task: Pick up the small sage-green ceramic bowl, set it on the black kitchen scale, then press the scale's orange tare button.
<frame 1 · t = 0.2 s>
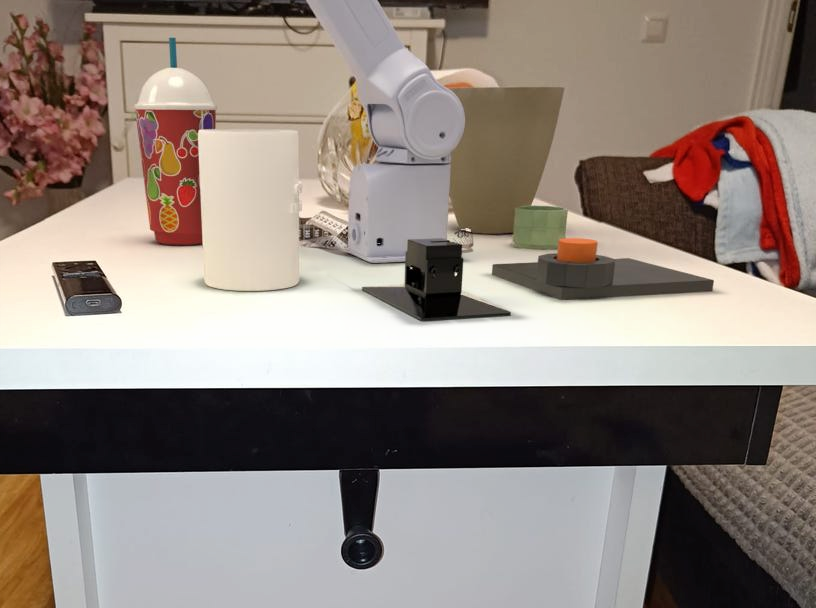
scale: (597, 283, 79), on the table
bowl: (538, 246, 99), on the table
smoothie: (182, 243, 101), on the table
mug: (249, 280, 80), on the table
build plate: (431, 305, 71), on the table
tare button: (576, 251, 74), point 3 cm above the table, slide at 0.1 cm
plant pot: (487, 232, 112), on the table
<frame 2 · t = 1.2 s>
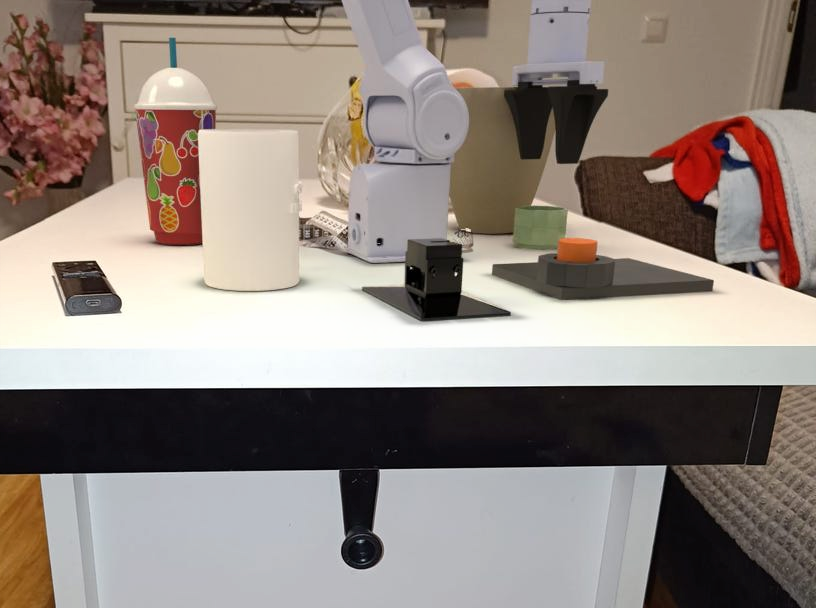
hand: (548, 161, 96), 9 cm above the table, tool pointing down, fingers open, 7 cm apart
nothing on the table moved.
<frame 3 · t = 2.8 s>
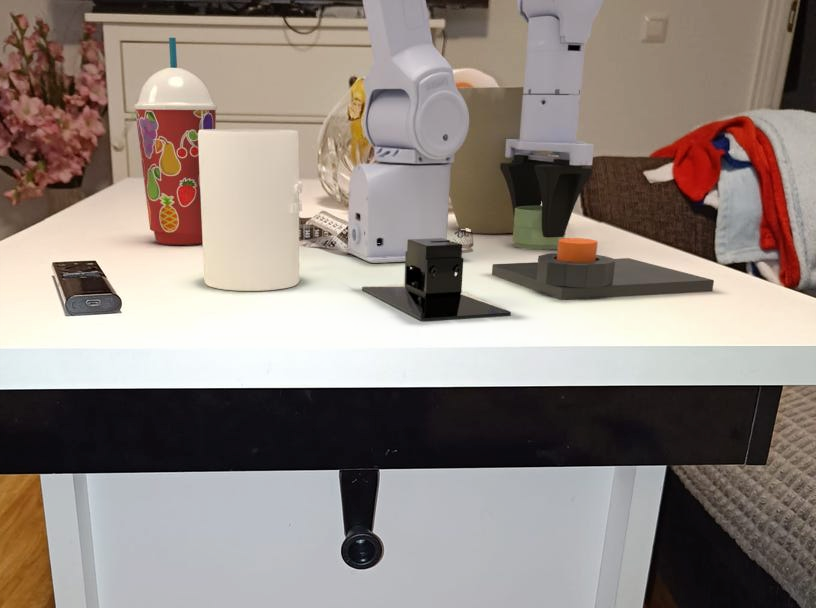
hand: (539, 233, 99), 1 cm above the table, tool pointing down, fingers closed on bowl, 5 cm apart
bowl: (537, 246, 99), on the table, touching gripper
everything else where it was.
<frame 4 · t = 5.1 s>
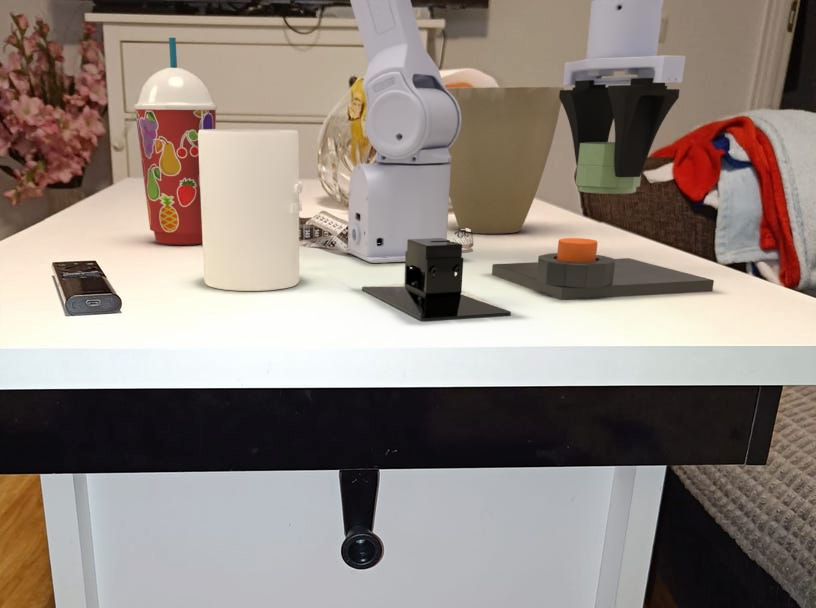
hand: (608, 174, 81), 8 cm above the table, tool pointing down, fingers closed on bowl, 5 cm apart
bowl: (606, 191, 82), point 7 cm above the table, touching gripper
everything else where it was.
when the fingers open (2 cm above the table, at t = 7.5 s): bowl stays where it is, resting on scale.
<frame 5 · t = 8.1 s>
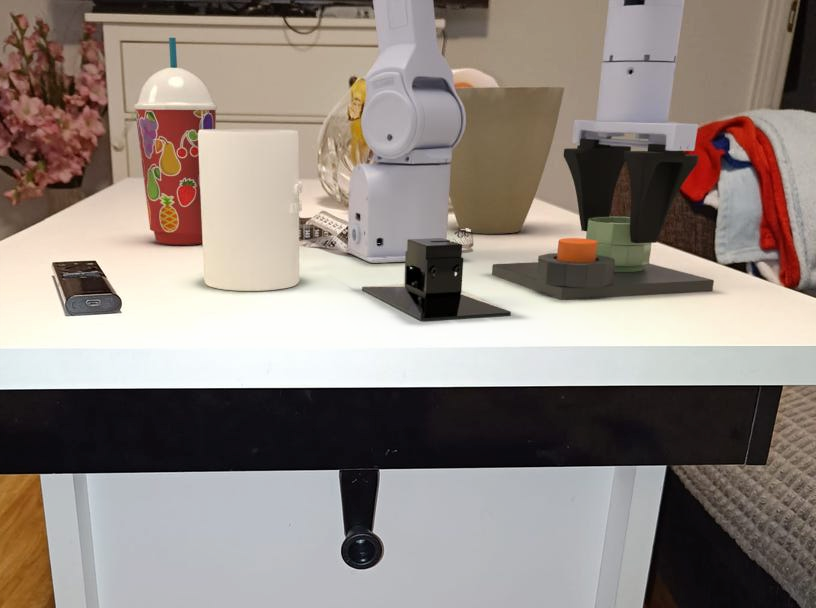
hand: (617, 236, 80), 4 cm above the table, tool pointing down, fingers open, 7 cm apart
bowl: (615, 267, 81), point 1 cm above the table, touching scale
everything else where it was.
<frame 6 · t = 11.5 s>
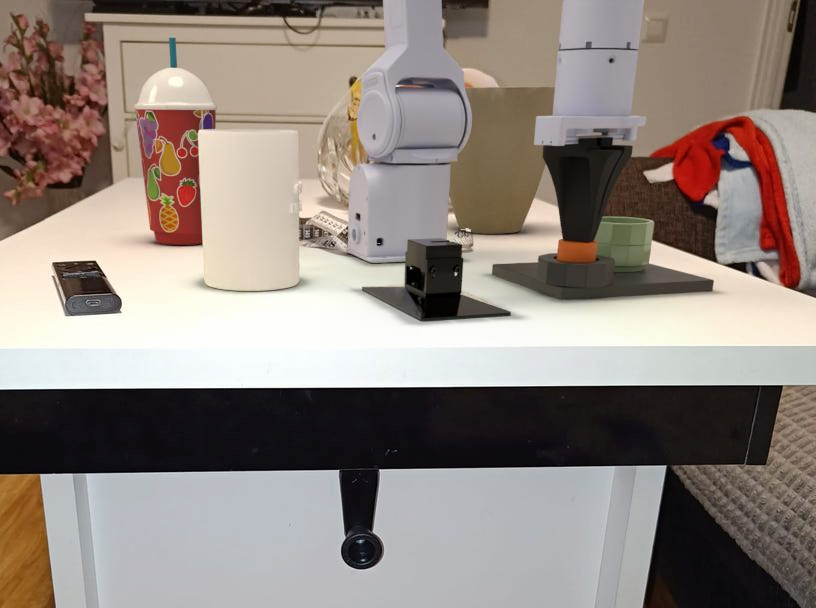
hand: (578, 241, 73), 4 cm above the table, tool pointing down, fingers closed, pressing on tare button
tare button: (576, 252, 74), point 3 cm above the table, slide at 0.1 cm, touching gripper
everything else where it was.
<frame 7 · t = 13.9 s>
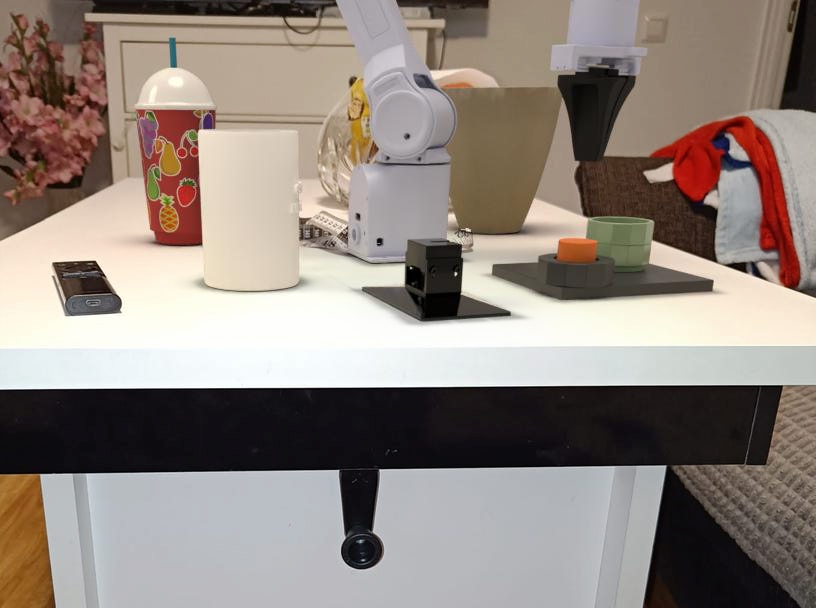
hand: (588, 161, 84), 9 cm above the table, tool pointing down, fingers closed
tare button: (576, 251, 74), point 3 cm above the table, slide at 0.1 cm
everything else where it was.
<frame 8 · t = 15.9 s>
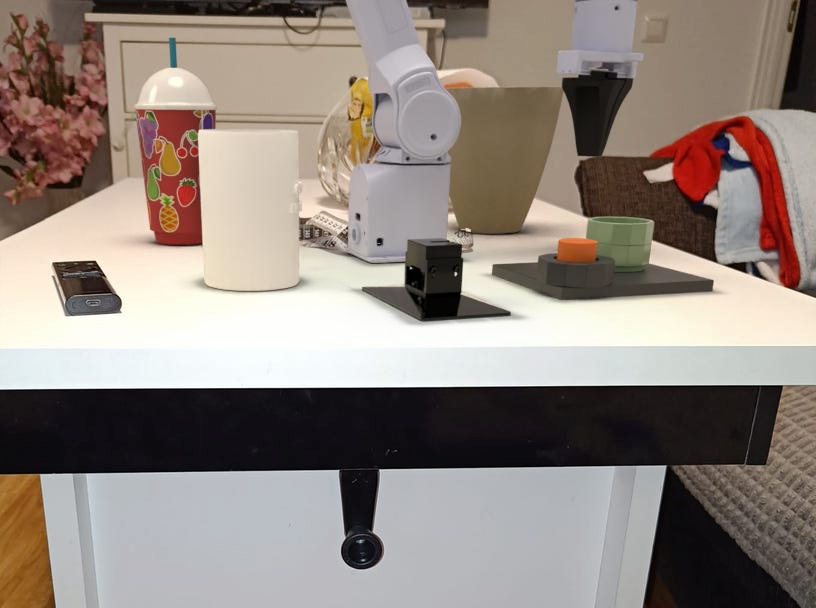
hand: (589, 156, 92), 9 cm above the table, tool pointing down, fingers closed
nothing on the table moved.
at the end: bowl inside the target area on the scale (0.1 cm from its centre), point 1.0 cm above the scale's base; tare button pushed in 1.2 cm at the most during the clip, back to where it started at the end; tare button slide at 0.1 cm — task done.
